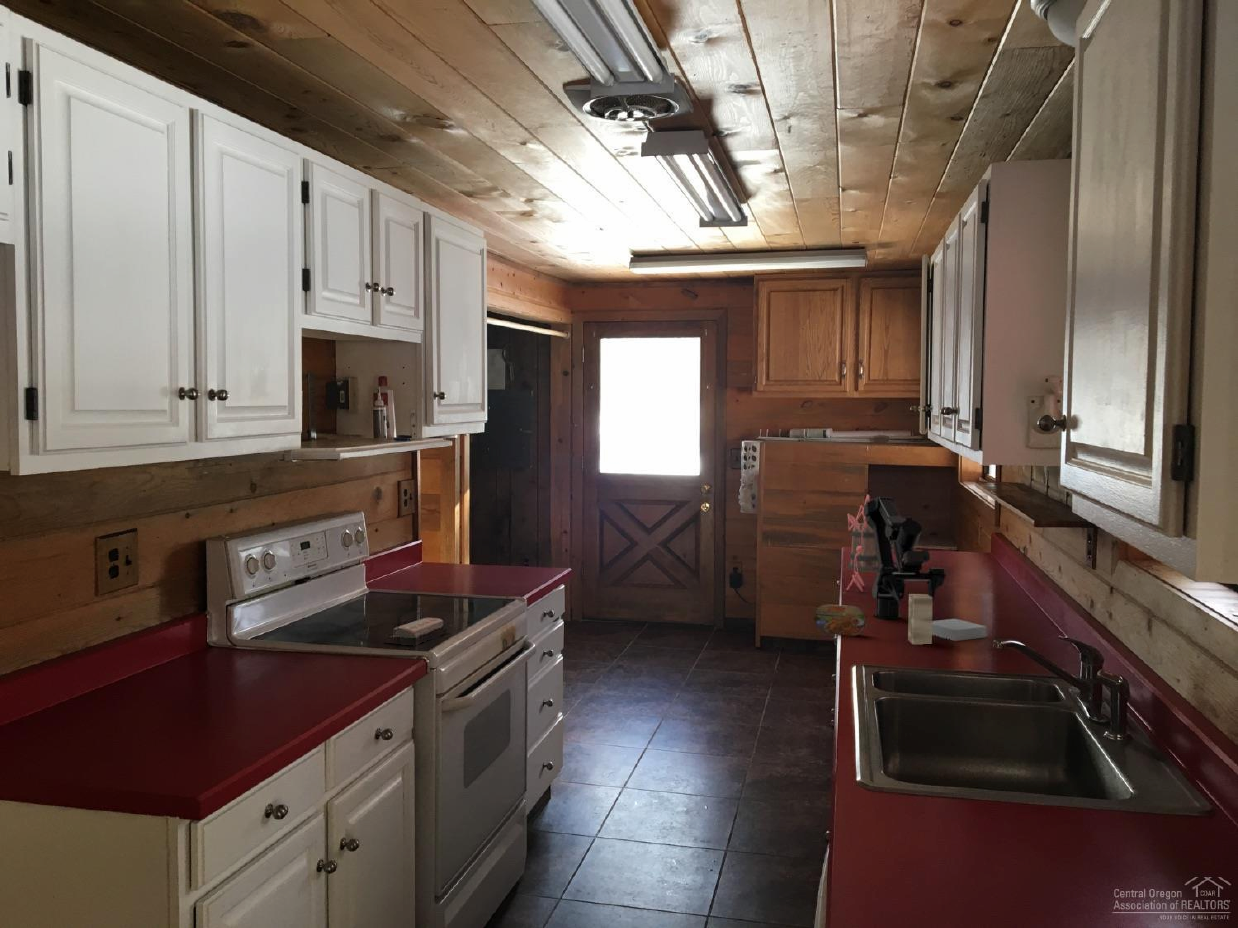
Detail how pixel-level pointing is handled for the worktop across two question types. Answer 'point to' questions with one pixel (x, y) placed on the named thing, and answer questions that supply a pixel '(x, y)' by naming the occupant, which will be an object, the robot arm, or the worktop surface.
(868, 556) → the tankard
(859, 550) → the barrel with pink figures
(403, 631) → the packaged product
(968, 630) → the plinth
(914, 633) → the birch block
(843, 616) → the tin
